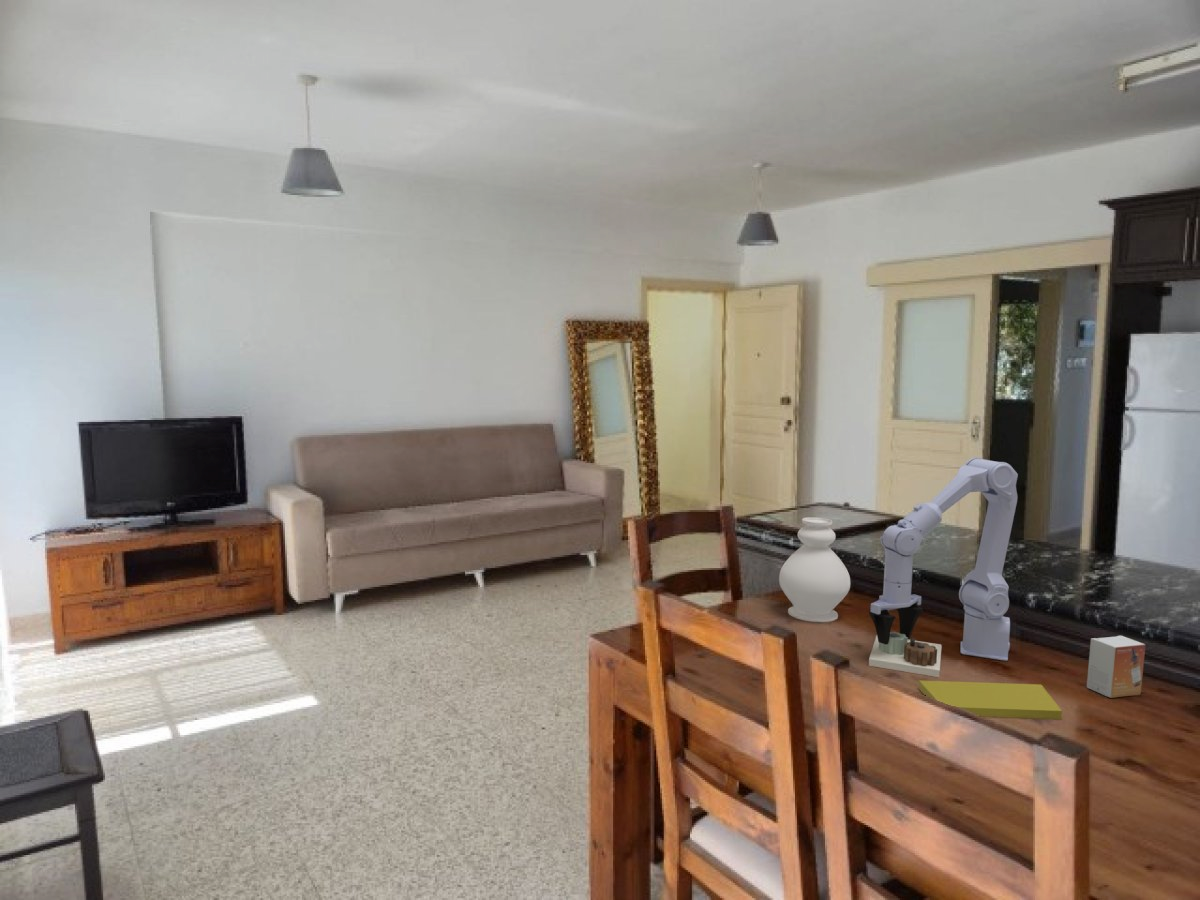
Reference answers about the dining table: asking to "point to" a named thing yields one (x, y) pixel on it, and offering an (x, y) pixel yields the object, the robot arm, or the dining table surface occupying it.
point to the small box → (1115, 666)
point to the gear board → (903, 660)
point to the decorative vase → (814, 574)
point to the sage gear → (894, 644)
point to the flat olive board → (995, 698)
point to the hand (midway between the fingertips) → (894, 640)
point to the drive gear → (920, 653)
